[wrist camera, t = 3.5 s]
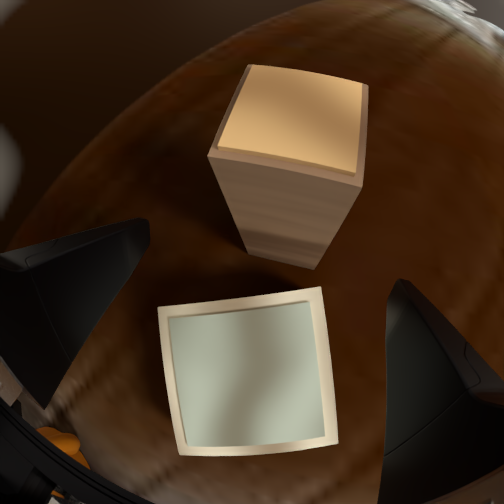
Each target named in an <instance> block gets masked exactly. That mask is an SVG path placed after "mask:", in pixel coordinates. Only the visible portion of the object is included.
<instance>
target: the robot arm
mask: <svg viewBox="0 0 504 504" xmlns="http://www.w3.org/2000/svg"><path fill="white" fill-rule="evenodd" d="M149 244H150V228H149V221H148V220H147V219H143V218H134V219H130V220H126V221H122V222H117V223H113V224H109V225H105V226H102V227H98V228H94V229H90V230H86V231H83V232H79V233H75V234H72V235H68V236H64V237H61V238H59V239H58V238H57V239H54V240H50V241H47V242H43V243H40V244H36V245H32V246H28V247H25V248H21V249H17V250H13V251H9V252H5V253H1V254H0V504H154V503H152V502H150V501H148V500H145V499H143V498H141V497H139V496H137V495H135V494H133V493H131V492H129V491H127V490H125V489H123V488H121V487H119V486H117V485H115V484H114V483H112V482H110V481H108V480H107V479H105V478H103V477H101V476H100V475H98V474H96V473H95V472H93V471H91V470H90V469H88V468H87V467H85V466H84V465H82V464H81V463H79V462H78V461H76V460H75V459H73V458H72V457H70V456H69V455H67V454H66V453H65V452H63V451H62V450H61V449H59V448H58V447H57V446H55V445H54V444H53V443H51V442H50V441H49V440H48V439H46V438H45V437H44V436H43V435H41V434H40V433H39V432H38V431H37V430H35V429H34V428H33V427H32V426H31V425H30V424H29V423H27V422H26V421H25V420H24V419H23V418H22V412H21V403H20V402H19V401H18V400H17V398H18V396H19V395H20V394H21V392H23V393H25V394H26V395H27V396H28V397H29V398H30V399H31V400H33V401H34V402H35V403H36V404H37V405H39V406H40V407H41V408H42V409H44V410H45V408H46V407H47V405H48V404H49V402H50V400H51V398H52V396H53V395H54V393H55V391H56V389H57V387H58V386H59V384H60V382H61V380H62V379H63V377H64V375H65V374H66V372H67V370H68V369H69V367H70V365H71V364H72V363H71V362H73V360H74V359H75V357H76V355H77V354H78V352H79V350H80V349H81V347H82V346H83V344H84V343H85V341H86V339H87V338H88V336H89V335H90V333H91V332H92V330H93V329H94V327H95V326H96V324H97V323H98V321H99V320H100V318H101V317H102V315H103V314H104V312H105V311H106V310H107V308H108V307H109V305H110V304H111V302H112V301H113V299H114V298H115V297H116V295H117V294H118V292H119V291H120V290H121V288H122V287H123V285H124V284H125V283H126V281H127V280H128V279H129V277H130V276H131V274H132V273H133V271H134V269H135V268H136V266H137V264H138V263H139V261H140V259H141V258H142V256H143V254H144V253H145V251H146V249H147V248H148V246H149ZM386 366H387V409H386V432H385V446H384V458H383V466H382V475H381V482H380V489H379V496H378V502H377V504H504V381H503V380H502V379H501V378H500V377H499V376H498V375H497V373H496V372H495V371H494V370H493V369H492V368H491V367H490V366H489V365H488V364H487V363H486V362H485V361H484V360H483V358H482V357H481V356H480V355H479V354H478V353H477V352H476V351H475V350H474V348H473V347H472V346H471V345H470V344H469V343H468V342H466V339H465V338H464V337H463V336H462V335H461V334H460V333H459V332H458V331H457V329H456V328H455V327H454V326H453V325H452V324H451V323H450V322H449V321H448V320H447V319H446V318H445V317H444V316H443V314H442V313H441V312H440V311H439V310H438V309H437V308H436V307H435V306H434V305H433V304H432V303H431V302H430V301H429V300H428V299H427V298H426V297H425V296H424V295H423V294H422V293H421V292H420V291H419V290H418V289H417V288H416V287H415V286H414V285H413V284H412V283H411V282H410V281H408V280H404V279H398V280H397V281H396V283H395V285H394V287H393V289H392V291H391V293H390V295H389V297H388V301H387V320H386ZM52 491H55V492H57V493H59V494H61V495H63V496H64V499H63V498H61V497H58V496H56V495H53V494H51V493H52Z"/></svg>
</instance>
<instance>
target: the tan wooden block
mask: <svg viewBox="0 0 504 504" xmlns="http://www.w3.org/2000/svg"><path fill="white" fill-rule="evenodd" d="M367 116H368V85H365V84H362V83H358V82H354V81H350V80H346V79H342V78H337V77H333V76H328V75H323V74H318V73H312V72H307V71H301V70H294V69H287V68H280V67H271V66H261V65H248V66H247V68H246V70H245V72H244V74H243V76H242V78H241V80H240V83H239V85H238V87H237V89H236V91H235V93H234V95H233V98H232V100H231V102H230V104H229V106H228V109H227V111H226V113H225V116H224V118H223V120H222V122H221V125H220V127H219V129H218V132H217V134H216V137H215V139H214V141H213V144H212V146H211V149H210V151H209V154H208V156H207V157H208V159H209V161H210V164H211V166H212V169H213V171H214V173H215V176H216V178H217V181H218V183H219V185H220V188H221V190H222V192H223V195H224V197H225V200H226V202H227V204H228V207H229V209H230V212H231V214H232V216H233V219H234V221H235V223H236V226H237V228H238V231H239V233H240V235H241V238H242V240H243V242H244V245H245V247H246V250H247V252H248V254H250V255H254V256H258V257H262V258H267V259H271V260H275V261H279V262H283V263H288V264H292V265H296V266H300V267H304V268H309V269H313V270H314V269H315V267H316V266H317V264H318V263H319V261H320V259H321V258H322V256H323V254H324V253H325V251H326V249H327V248H328V246H329V244H330V243H331V241H332V239H333V238H334V236H335V234H336V233H337V231H338V229H339V227H340V226H341V224H342V222H343V221H344V219H345V217H346V215H347V214H348V212H349V210H350V208H351V207H352V205H353V203H354V201H355V199H356V198H357V196H358V194H359V192H360V190H361V189H362V184H363V174H364V163H365V151H366V136H367Z"/></svg>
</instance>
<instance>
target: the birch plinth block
mask: <svg viewBox="0 0 504 504" xmlns="http://www.w3.org/2000/svg"><path fill="white" fill-rule="evenodd" d="M158 318H159V329H160V339H161V348H162V357H163V365H164V372H165V379H166V386H167V393H168V399H169V405H170V411H171V416H172V422H173V427H174V432H175V437H176V442H177V447H178V451H179V455H194V456H240V455H258V454H270V453H280V452H289V451H297V450H304V449H310V448H316V447H322V446H327V445H332V444H337V443H338V432H337V418H336V406H335V395H334V384H333V375H332V366H331V357H330V349H329V341H328V333H327V326H326V318H325V311H324V305H323V298H322V292H321V287H314V288H308V289H301V290H295V291H288V292H281V293H274V294H267V295H259V296H252V297H244V298H236V299H228V300H220V301H211V302H202V303H193V304H183V305H173V306H163V307H158Z"/></svg>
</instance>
